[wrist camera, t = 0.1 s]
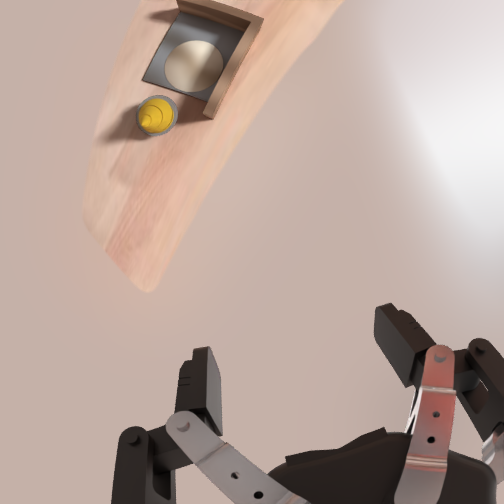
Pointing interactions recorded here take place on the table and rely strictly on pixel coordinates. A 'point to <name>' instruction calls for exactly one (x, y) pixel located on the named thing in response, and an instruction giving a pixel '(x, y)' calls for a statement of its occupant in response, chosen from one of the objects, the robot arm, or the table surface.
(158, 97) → the drill bit
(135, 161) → the table surface
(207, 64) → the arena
